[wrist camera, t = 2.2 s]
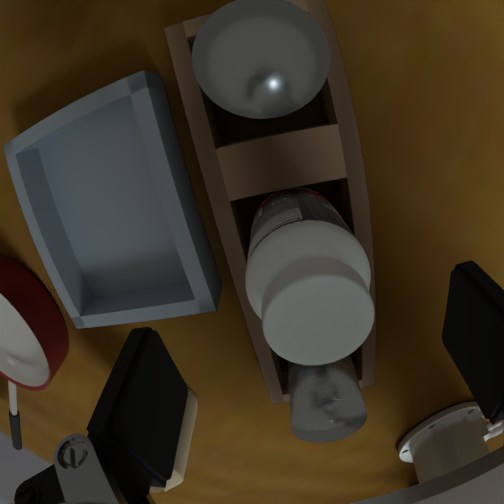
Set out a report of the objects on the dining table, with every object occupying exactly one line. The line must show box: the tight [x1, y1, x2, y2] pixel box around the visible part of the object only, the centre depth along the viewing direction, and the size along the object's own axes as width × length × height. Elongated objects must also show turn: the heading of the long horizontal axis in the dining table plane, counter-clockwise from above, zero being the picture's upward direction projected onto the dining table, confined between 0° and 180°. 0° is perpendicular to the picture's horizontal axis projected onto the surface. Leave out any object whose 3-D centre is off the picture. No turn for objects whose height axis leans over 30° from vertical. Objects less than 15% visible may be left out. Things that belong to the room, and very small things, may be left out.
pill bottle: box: [245, 187, 375, 365], centre depth 15 cm, size 5×5×10 cm
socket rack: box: [164, 0, 376, 404], centre depth 18 cm, size 8×26×2 cm, turn 13°
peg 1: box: [192, 0, 330, 119], centre depth 12 cm, size 4×4×8 cm
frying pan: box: [0, 255, 69, 450], centre depth 25 cm, size 32×13×6 cm, turn 158°
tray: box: [3, 70, 222, 329], centre depth 18 cm, size 11×14×3 cm
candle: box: [149, 387, 198, 493], centre depth 22 cm, size 6×6×10 cm
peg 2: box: [287, 354, 367, 443], centre depth 19 cm, size 4×4×8 cm
